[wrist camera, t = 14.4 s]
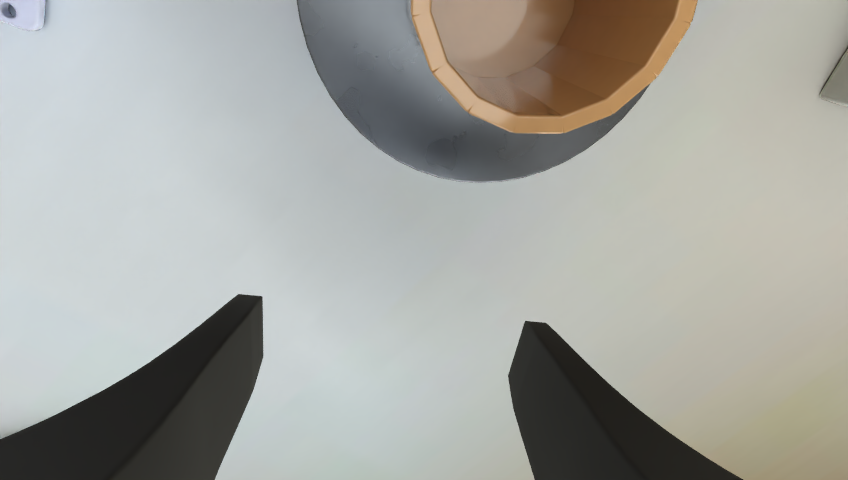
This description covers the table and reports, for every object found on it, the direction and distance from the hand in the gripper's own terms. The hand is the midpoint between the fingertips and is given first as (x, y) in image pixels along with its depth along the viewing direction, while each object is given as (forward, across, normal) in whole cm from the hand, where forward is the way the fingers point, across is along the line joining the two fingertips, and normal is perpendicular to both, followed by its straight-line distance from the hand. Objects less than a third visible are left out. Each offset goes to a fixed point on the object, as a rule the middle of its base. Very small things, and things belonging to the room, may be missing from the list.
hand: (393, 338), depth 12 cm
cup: (+6, -2, -9) cm, 11 cm away
